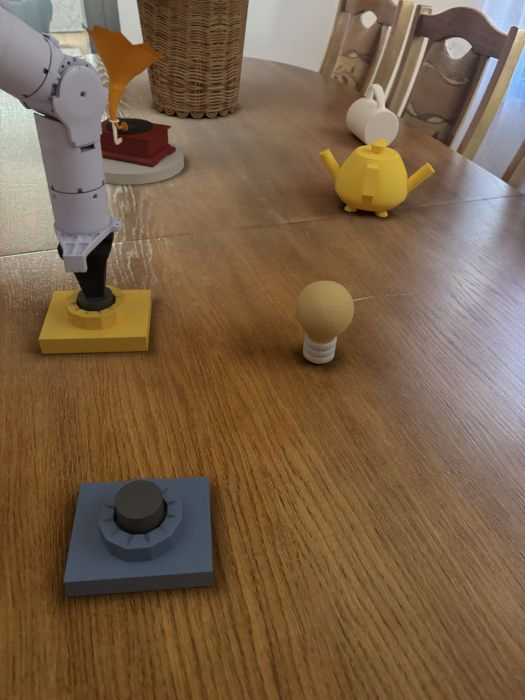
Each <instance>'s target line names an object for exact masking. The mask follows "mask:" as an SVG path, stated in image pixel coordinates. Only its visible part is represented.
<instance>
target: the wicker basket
mask: <svg viewBox="0 0 525 700" xmlns="http://www.w3.org/2000/svg"><path fill="white" fill-rule="evenodd" d="M249 4H250V0H136V6H137V12H138V18H139V25H140V31H141V36H142V37H141V38H142V43H147V42H148V44H149V45H150V47H151V48H152V50H153V51H154V52H164V54H163V55H162V56H163V57H164V58H161V59H158V60H156V61H155V62H154V63H152V64H151V65H150V66H149V67H148V68H147V69H146V71H147V75H148V81H149V86H150V87H149V88H150V93H151V99H152V104H153V108H155V109H156V110H157V112H159V113H162V112H164V113H165V114H166V115H167V116H173V115H174V114H176V115H177V116H178V117H179V118H181V119H184V118H187V117H188V116H189V114H190V116H191V118H194V119H195V120H198V119H201V118H203V116H204V115H205V116H206V117H207V118H208V119H214V118H216V117H217V116H218V114H219V115H220V116H221V117H225V116H227V114H228V113H230V114H233V113H234V112H235V110H237V108H238V101H239V92H240V84H241V75H242V67H243V58H244V57H243V56H244V50H245V49H244V48H245V40H246V32H247V31H246V30H247V22H248V21H247V20H248V14H249V13H248V10H249Z"/></svg>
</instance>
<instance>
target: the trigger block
mask: <svg viewBox="0 0 525 700" xmlns="http://www.w3.org/2000/svg"><path fill="white" fill-rule="evenodd" d="M105 286H106V287H108V288H110V289H111V290H112V293H113V300H114V304H113V305H112V306H111V307H110V308H107V309H104V310H101V311H85V310H82V309H80V308H79V302H78V297H77V295H78V293H79V291H80V290H82V289H81V287H80V288H76V290H54V291H53V294H52V297H51V300H50V303H49V306H48V309H47V311H46V315H45V318H44V320H43V324H42V327H41V331H40V333H39V336H38V340H37V341H38V345H39V348H40V351H41V354H42V355H56V354H57V355H58V354H84V353H85V354H86V353H87V354H88V353H89V354H91V353H92V354H93V353H123V352H124V353H125V352H127V353H128V352H148V351H149V341H150V328H151V317H152V305H153V302H152V294H151V293H152V290H151V289H121V288H119V287H116V286H114V285H109V284H106V285H105Z"/></svg>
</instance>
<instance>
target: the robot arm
mask: <svg viewBox="0 0 525 700" xmlns="http://www.w3.org/2000/svg"><path fill="white" fill-rule="evenodd" d="M13 9H14V5H13V3H11V2H10V1H9V0H0V90H1V91H3V92H5V93H6V94H8V95H10V96H12V97H14V98H15V99H17V100H18V102H19V103H20V104H21V105H22V106H23V108H25V109H27V110H31V111H34V112H33V119H34V123H35V128H36V135H37V139H38V143H39V149H40V153H41V158H42V159H41V160H42V164H43V169H44V173H45V174H44V175H45V178H46V183H47V184H46V185H47V189H48V194H49V198H50V204H51V210H52V214H53V215H52V216H53V219H54V222H53V229H54V233H55V236H56V239H57V240H58V244H57V248H56V250H57V254H58V257H59V258H60V259H61V260H62V261H63V265H64V270H65V273H73V275H74V277H75V279H76V281H77V283H78V285H79V287H80V288H81V289H82V291H83V293H84V295H85V297H103V295H104V290H105V285H107V284H106V283H107V267H108V259H109V258H110V254H111V252H112V248H113V242H114V238H115V233H117V232H121V231H122V229H123V220H122V218H120V217H112V216H111V214H110V205H109V198H108V191H107V183H106V182H105V174H104V167H103V159H102V151H101V144H100V135H101V134H102V128H101V122H102V119H103V115H104V113H105V110H106V107H107V106H108V101H109V87H106V86H104V85H103V83H102V80H101V78H100V76H99V75H98V71H97V69H96V68H95V67H94V66H93V65H92V63H90V62H89V61H87V60H86V59H83V58H80V57H77V56H73V55H70V54H66V53H63V52H62V50H61V47H59V45H60V40H59V39H57V38H56V37H55V36H53V35H52V34H50V33H46V32H42V33H40V32H39V31H38V30H35V29H34V28H33V27H32V26H30V25H29V24H27V23H26V22H25V21H23V20H21V18H19V17H17V15H15V14H13V13H12V12H13Z"/></svg>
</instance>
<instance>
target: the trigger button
mask: <svg viewBox="0 0 525 700" xmlns="http://www.w3.org/2000/svg"><path fill="white" fill-rule="evenodd" d="M77 297H78V302H79V308H80V309H82V310H85V311H101V310H104V309H107V308H110V307H111V306H112V305H113V304H114V300H113V293H112V290H111V289H110V288H108V287H106V286H105V290H104V295H103V297H85V295H84V293H83V291H82V290H80V291H79V293H78V295H77Z"/></svg>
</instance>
